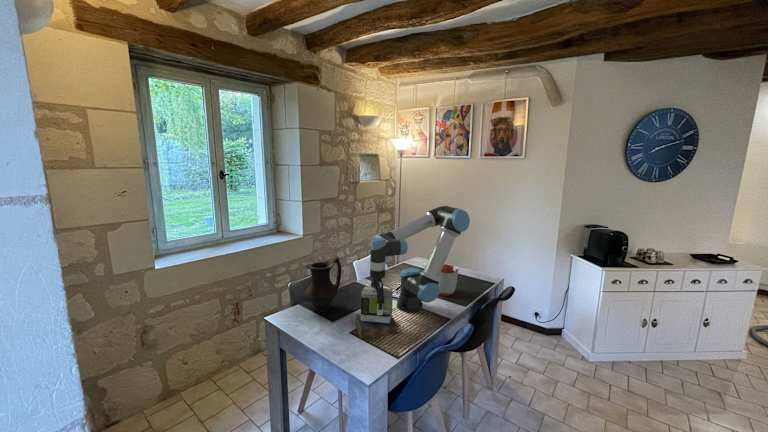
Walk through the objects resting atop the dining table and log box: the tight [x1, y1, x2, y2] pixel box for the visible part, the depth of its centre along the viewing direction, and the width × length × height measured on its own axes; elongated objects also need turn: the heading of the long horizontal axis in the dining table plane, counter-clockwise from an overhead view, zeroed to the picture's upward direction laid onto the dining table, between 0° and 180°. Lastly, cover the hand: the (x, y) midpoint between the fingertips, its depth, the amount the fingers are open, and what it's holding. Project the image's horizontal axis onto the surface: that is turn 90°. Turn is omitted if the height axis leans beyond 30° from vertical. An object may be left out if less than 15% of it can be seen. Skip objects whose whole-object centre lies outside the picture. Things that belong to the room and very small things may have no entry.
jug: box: [304, 256, 342, 313], centre depth 182 cm, size 21×18×30 cm
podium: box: [355, 314, 399, 339], centre depth 164 cm, size 19×15×4 cm
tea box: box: [360, 286, 394, 323], centre depth 162 cm, size 15×10×15 cm, turn 81°
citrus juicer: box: [438, 263, 460, 297], centre depth 209 cm, size 16×17×20 cm
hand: (376, 308), depth 163 cm, fingers closed on tea box, 12 cm apart
